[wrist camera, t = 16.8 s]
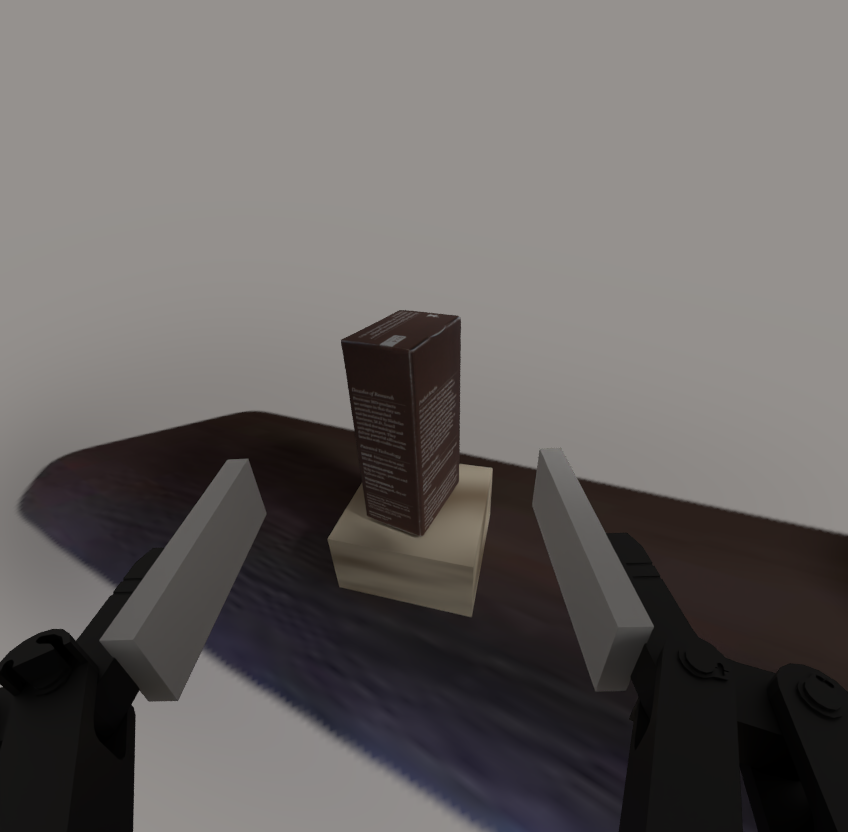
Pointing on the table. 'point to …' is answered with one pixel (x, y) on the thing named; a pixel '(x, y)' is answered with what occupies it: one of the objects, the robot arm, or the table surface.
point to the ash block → (418, 549)
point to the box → (406, 414)
